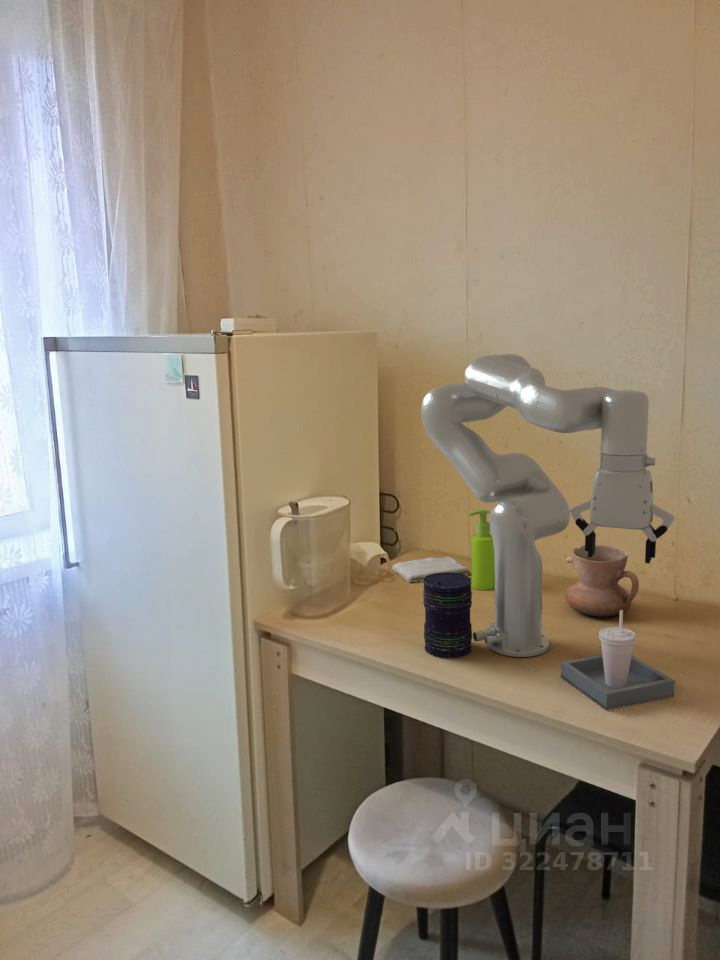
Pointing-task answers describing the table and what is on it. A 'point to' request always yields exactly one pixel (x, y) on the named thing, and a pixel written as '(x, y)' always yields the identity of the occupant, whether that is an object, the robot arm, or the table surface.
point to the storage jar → (447, 615)
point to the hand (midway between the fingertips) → (619, 558)
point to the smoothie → (617, 653)
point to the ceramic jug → (600, 581)
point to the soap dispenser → (482, 554)
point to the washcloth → (427, 568)
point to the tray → (639, 688)
